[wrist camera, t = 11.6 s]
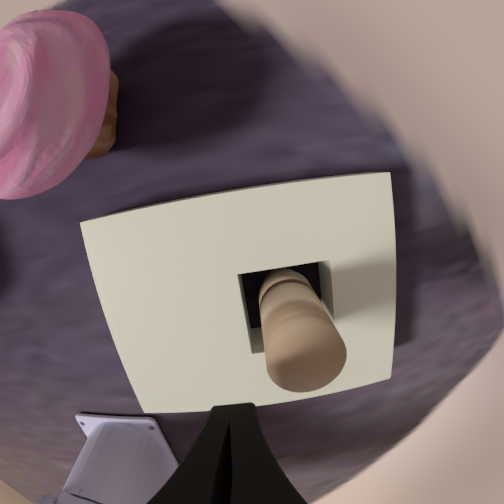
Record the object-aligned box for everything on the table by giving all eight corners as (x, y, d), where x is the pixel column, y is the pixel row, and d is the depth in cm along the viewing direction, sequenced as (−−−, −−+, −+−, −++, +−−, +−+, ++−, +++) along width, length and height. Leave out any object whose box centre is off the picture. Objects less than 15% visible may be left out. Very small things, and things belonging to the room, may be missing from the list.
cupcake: (153, 181, 17) (52, 189, 7) (38, 197, 16) (-76, 221, 7) (153, 42, 14) (83, -50, 5) (40, 74, 14) (-58, 38, 5)
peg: (309, 304, 19) (347, 383, 11) (261, 313, 19) (272, 398, 11) (303, 258, 18) (345, 317, 10) (253, 267, 18) (260, 334, 10)
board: (374, 354, 20) (390, 378, 17) (154, 386, 20) (144, 412, 17) (367, 172, 17) (390, 172, 14) (103, 215, 17) (79, 222, 14)
